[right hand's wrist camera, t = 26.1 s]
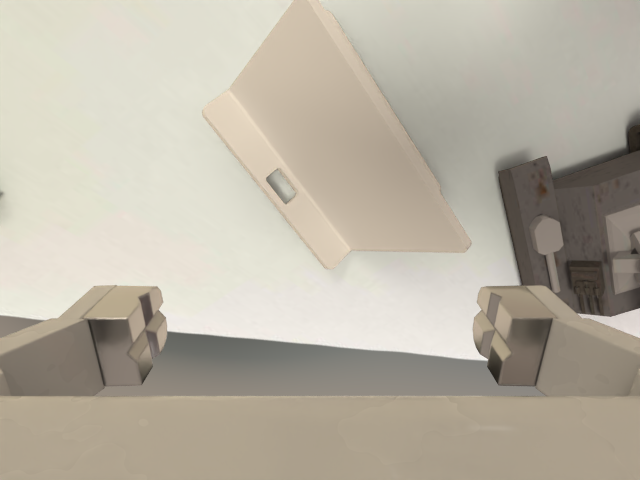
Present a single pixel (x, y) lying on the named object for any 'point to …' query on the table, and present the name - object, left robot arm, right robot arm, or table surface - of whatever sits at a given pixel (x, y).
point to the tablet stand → (331, 145)
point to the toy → (579, 230)
